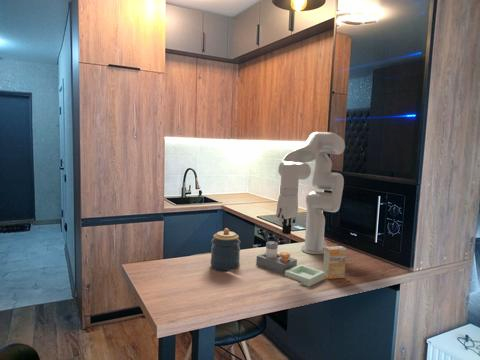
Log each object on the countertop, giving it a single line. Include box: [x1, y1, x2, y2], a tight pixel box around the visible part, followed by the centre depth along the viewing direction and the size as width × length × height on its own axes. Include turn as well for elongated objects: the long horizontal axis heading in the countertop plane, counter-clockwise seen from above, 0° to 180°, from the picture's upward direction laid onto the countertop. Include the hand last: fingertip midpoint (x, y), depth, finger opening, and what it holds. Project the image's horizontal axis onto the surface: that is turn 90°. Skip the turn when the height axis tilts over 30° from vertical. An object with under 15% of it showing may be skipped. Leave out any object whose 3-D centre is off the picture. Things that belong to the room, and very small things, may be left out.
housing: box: [255, 252, 298, 275], centre depth 161 cm, size 10×15×5 cm, turn 47°
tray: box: [284, 263, 325, 287], centre depth 152 cm, size 12×12×3 cm
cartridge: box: [265, 240, 279, 259], centre depth 163 cm, size 5×5×10 cm
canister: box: [210, 227, 241, 272], centre depth 160 cm, size 13×13×18 cm
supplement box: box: [322, 245, 348, 280], centre depth 154 cm, size 8×5×13 cm, turn 105°
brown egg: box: [279, 252, 291, 262], centre depth 158 cm, size 4×4×5 cm
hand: (286, 233), depth 157 cm, fingers closed
